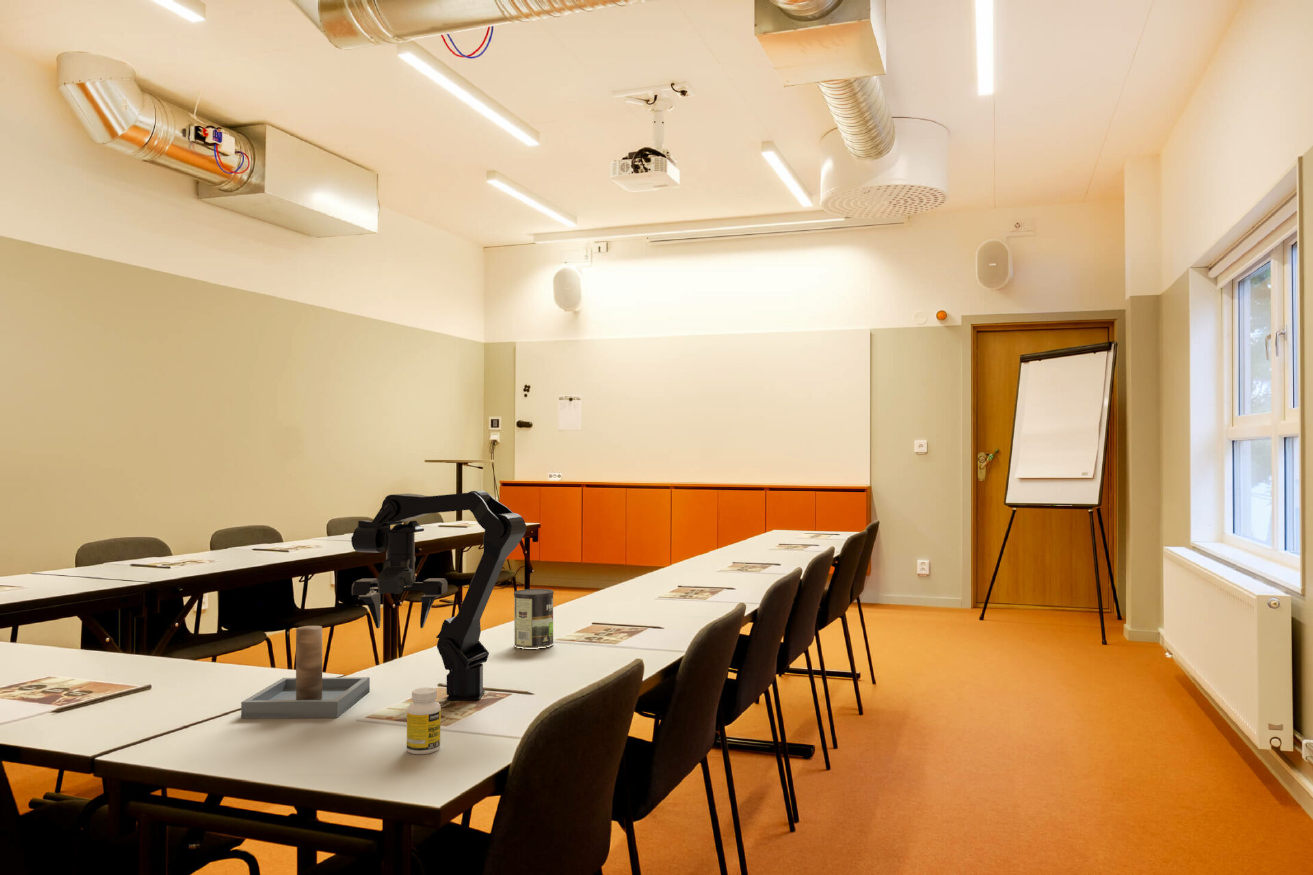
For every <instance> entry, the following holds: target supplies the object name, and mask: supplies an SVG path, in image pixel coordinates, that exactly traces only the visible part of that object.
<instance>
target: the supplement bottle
mask: <svg viewBox="0 0 1313 875" xmlns="http://www.w3.org/2000/svg"><path fill="white" fill-rule="evenodd" d="M437 692H438V691H437V689H436V687H418V688H414V689H413V690H412V691H411V701H412V702H411V703H410V704H409V705H408V706H407V709H406V710H407V711H406V751H407V752H408V753H409V754H413V755H427V754H433V753H435V752H437V751H439V749H440V748H441V725H442V724H441V722H442V720H441V713H442V712H441V704H440V703H439V702H438V701H436V700H437V698H438V696H437V695H438V693H437Z"/></svg>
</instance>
